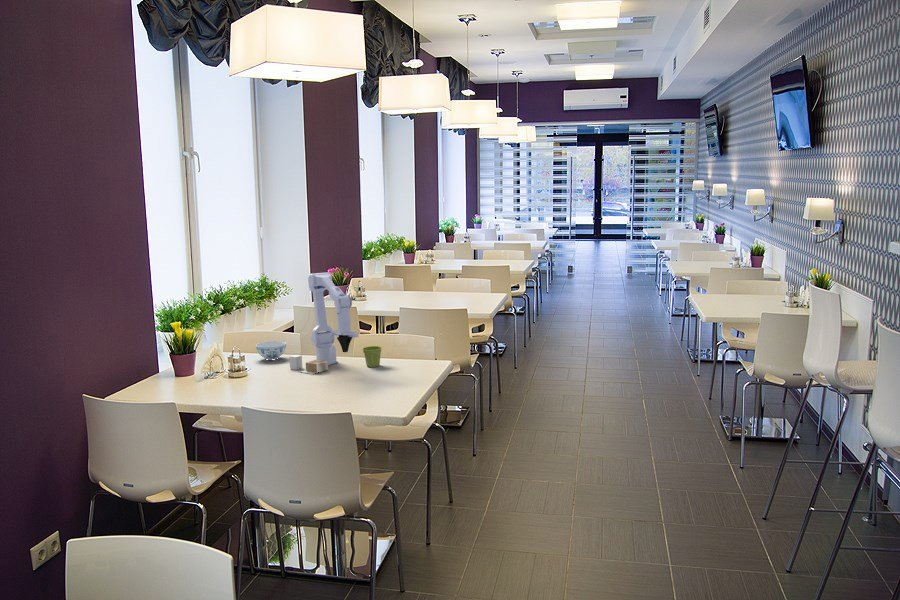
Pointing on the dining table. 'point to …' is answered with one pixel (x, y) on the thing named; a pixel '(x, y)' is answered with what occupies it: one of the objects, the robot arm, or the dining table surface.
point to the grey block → (295, 362)
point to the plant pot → (372, 355)
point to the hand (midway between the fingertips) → (345, 351)
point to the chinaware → (271, 349)
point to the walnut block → (316, 366)
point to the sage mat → (308, 372)
